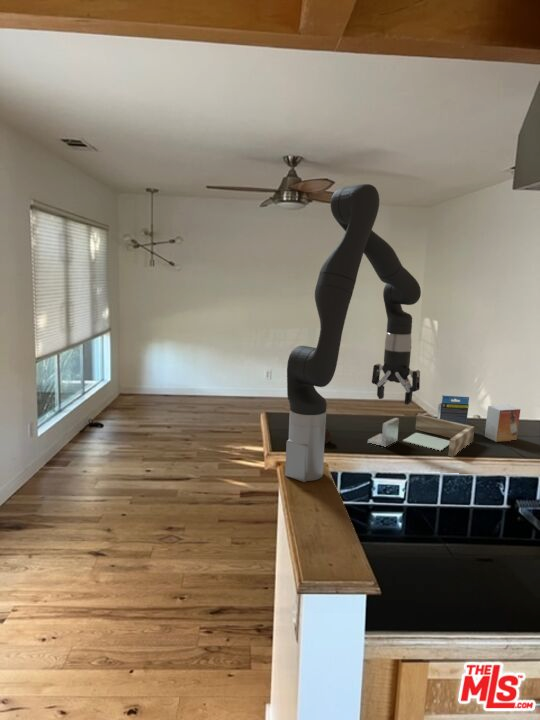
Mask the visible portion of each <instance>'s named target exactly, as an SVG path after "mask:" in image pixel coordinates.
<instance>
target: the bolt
mask: <svg viewBox="0 0 540 720" xmlns="http://www.w3.org/2000/svg"><path fill="white" fill-rule="evenodd" d="M332 436H333V435H332V433H331V432H330V430H329V429H328V427H327V426H325V443H327V444H328V443H329V442H330V441H331V439H332Z"/></svg>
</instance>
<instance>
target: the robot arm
mask: <svg viewBox="0 0 540 720" xmlns="http://www.w3.org/2000/svg"><path fill="white" fill-rule="evenodd" d="M331 195H332V196H331V199H330V211H331V213H332V216H333V217H334V219H335V221H336V222H337V223H338V224H339V226H340V227H341V228H342V229H343V230H344V232H345V233H344V235H343V237H342V238H341V240H340V242H339V243H338V244H337V246H336V247H335V248H334V249H333V250H332V252H331V253H330V254H329V255H328V257H327V258H326V259H325V261H324V262H323V263H322V266H321V268H320V271H319V275H318V278H317V281H316V285H315V288H314V301H315V306H316V309H317V315H318V319H319V324H320V330H319V335H318V336H319V337H318V341H317V345H316V347H312V346H308V345H299V346H296V347H294V348H293V349H292V350H291V352H290V354H289V356H288V360H287V365H286V390H287V391H286V394H287V400H288V402H289V418H288V419H289V421H288V440H286V443H285V444H286V448H285V449H286V450H285V476H286V477H288V478H291V479H294V480H297V481H300V482H303V483H306V482H310V481H317V480H319V479H321V478H322V477H323V476H324V458H325V445H326V444H325V427H326V422H327V400H326V398H325V397H323V396H322V395H321V394H320V393H319V392H318V391H317V390H316V388H315V387H318V388H324V387H326V386H328V385H329V384H330V383H331V381H332V380H333V378H334V376H335V373H336V370H337V365H338V360H339V354H340V347H341V342H342V336H343V330H344V327H345V326H344V325H345V322H346V318H347V315H348V310H349V306H350V303H351V300H352V297H353V293H354V289H355V286H356V281H357V277H358V272H359V269H360V265H361V264H362V263H361V262H362V260H363V255H365V257H366V259H367V260H368V261H369V263H370V265H371V267H372V268H373V270H374V271H375V273H376V275H377V276H378V278H379V279H380V281H381V282H382V283H385V286H384V288H383V292H382V296H383V302H384V306H385V312H386V317H387V323H386V334H385V341H384V353H383V365H382V364H381V363H376V364H374V365H373V366H372V367H373V370H372V377H371V384H373V385H376V386H377V391H376V395H377V396H376V397H378V399H379V400H382V399H384V397H385V386H384V385H385V384H386V383H387V382H388V381H389V382H393V383H396V384H400V385H401V386H402V387H403V388H404V389H405V393H404V394H405V395H404V405H410V403H411V402H413V401H412V400H413V394H414V393H413V392H417V391H419V390H420V387H421V386H420V384H421V383H420V382H421V381H420V380H421V378H420V377H421V371H420V370H419V369H417V370H411V368H410V363H411V354H412V328H413V315H411V314H410V313H408V312H406V311H404V310H403V307H402V305H405V306H412V305H414V304H416V303H418V302H419V300H420V298H421V295H422V291H421V286H420V284H419V282H418V280H417V279H416V278H415V277H414V276H413V274H411V273H410V272H409V271H408V269H406V268H405V267H404V266H403V264H402V262H401V260H400V259H399V257H398V255H397V253H396V251H395V250H394V248H392V246H391V245H390V244H389V243H388V242H387V241H386V240H384V239H383V237H381V236H379V234H377V233H376V232H374V230H373V227H374V225H375V221H376V219H377V216H378V213H379V208H380V194H379V191H378V190H377V188H376V187H375V185H373V184H370V183H364V184H357V185H355V184H354V185H350V186H343V187H341V188H338V189H337V190H335V191H334V193H333V194H331ZM381 372H383V374H384V375H383V376H382V377H381V378H380V376H381ZM409 376H410V378H411V380H410V379H409ZM411 381H412V383H411Z"/></svg>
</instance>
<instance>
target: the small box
mask: <svg viewBox="0 0 540 720" xmlns="http://www.w3.org/2000/svg"><path fill="white" fill-rule="evenodd" d="M520 416H521V409H520V408H519V407H516V406H513V405H510V404H505V405H504V404H503V405H501V404H499V405H488V406H487V413H486V420H485V421H486V422H485V430H484V437H485V438H487V439H490V440H491V441H494V442H496V443H497V442H499V443H500V442H512V441H511V440H516V441H517V437H518V430H519V424H520Z"/></svg>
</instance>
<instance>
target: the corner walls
mask: <svg viewBox="0 0 540 720" xmlns="http://www.w3.org/2000/svg"><path fill="white" fill-rule="evenodd" d="M415 417H416V419H415V420H416V421H415V428H414V429H415V431H421V432H425V433H428V434H433V435H436V436H437V435H438V436H441V437H445V438H449V441H450V442H449V446H448V452H447V453H448V454H447V456H448V457H451V458H454V457H455V456H457V455H458V454H459V453H460V452H461V450H462V449H463V448H464V449H466V448H467V447H468V446H469V445H471V444H472V443H473V442H474V434H475V426H473V425H470V424H466V425H465V424H460V423H456V422H451V421H447V420H442V419H438V418H437V417H434V416H428V415H423V414H419V413H418V414H417V415H416V416H415ZM470 443H471V444H470ZM467 445H468V446H467ZM466 446H467V447H466ZM464 449H463V450H464ZM463 450H462V451H463ZM459 451H460V452H459ZM458 452H459V453H458ZM457 453H458V454H457Z"/></svg>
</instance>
